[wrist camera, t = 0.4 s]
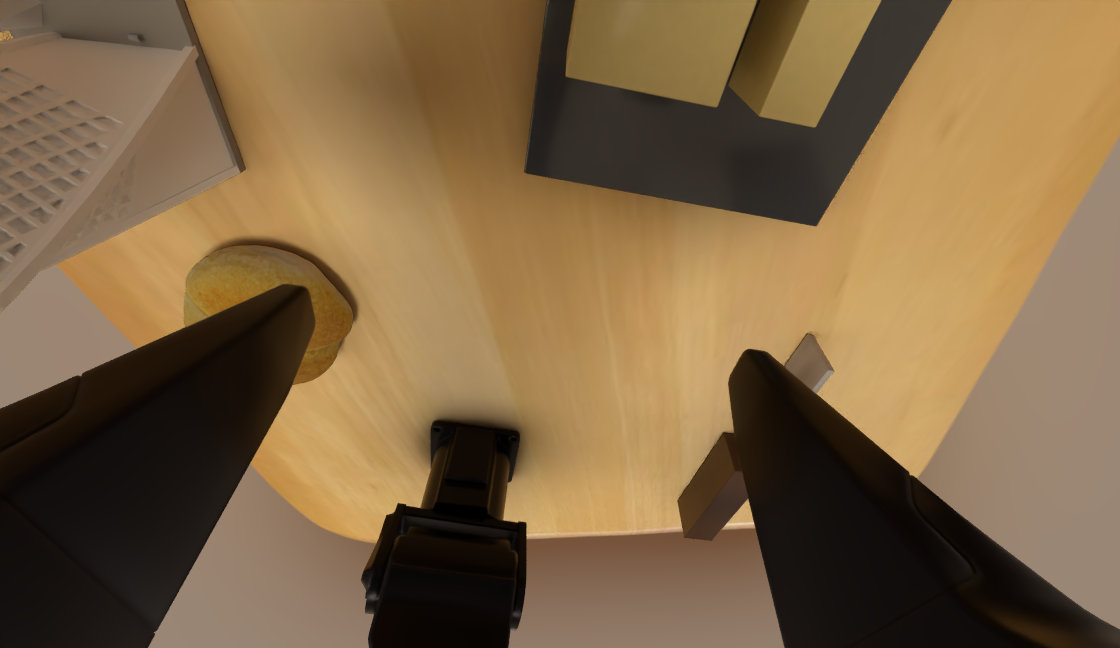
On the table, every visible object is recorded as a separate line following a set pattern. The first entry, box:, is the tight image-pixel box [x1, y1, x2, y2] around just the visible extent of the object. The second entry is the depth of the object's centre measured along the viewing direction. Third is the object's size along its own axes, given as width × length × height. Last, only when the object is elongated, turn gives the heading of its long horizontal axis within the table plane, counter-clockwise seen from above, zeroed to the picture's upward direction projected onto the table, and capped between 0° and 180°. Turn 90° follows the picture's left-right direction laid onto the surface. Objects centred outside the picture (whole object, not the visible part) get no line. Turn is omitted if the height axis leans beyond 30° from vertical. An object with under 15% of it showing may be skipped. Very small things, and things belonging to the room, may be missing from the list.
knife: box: [678, 334, 834, 541], centre depth 33 cm, size 20×2×3 cm, turn 170°
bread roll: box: [184, 245, 353, 385], centre depth 25 cm, size 8×9×4 cm
